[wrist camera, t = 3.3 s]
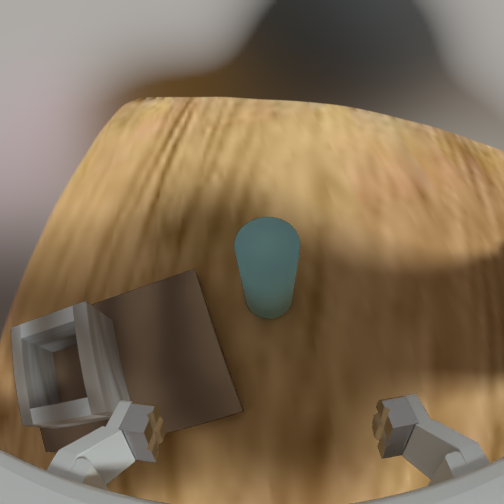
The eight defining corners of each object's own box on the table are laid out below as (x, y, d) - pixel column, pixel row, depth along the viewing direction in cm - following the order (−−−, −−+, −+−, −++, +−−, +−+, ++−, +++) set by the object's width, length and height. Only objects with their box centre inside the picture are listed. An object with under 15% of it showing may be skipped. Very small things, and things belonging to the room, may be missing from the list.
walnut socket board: (197, 275, 27) (180, 241, 22) (243, 410, 22) (235, 410, 17) (33, 331, 25) (-4, 311, 20) (53, 451, 19) (12, 451, 14)
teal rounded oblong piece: (281, 269, 27) (284, 209, 20) (299, 308, 25) (311, 260, 18) (239, 284, 27) (226, 228, 19) (255, 325, 25) (247, 283, 17)
